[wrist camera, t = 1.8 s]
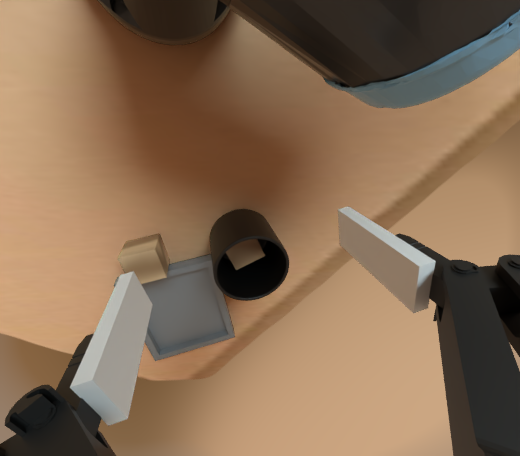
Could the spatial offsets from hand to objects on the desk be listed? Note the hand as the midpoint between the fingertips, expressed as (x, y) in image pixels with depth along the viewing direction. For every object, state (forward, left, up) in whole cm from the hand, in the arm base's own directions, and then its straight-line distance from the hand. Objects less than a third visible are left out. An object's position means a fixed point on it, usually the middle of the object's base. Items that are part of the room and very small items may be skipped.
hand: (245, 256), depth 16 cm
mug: (+11, +2, -20) cm, 23 cm away
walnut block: (+9, +1, -20) cm, 22 cm away
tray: (+20, -11, -20) cm, 30 cm away
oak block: (+8, -12, -20) cm, 25 cm away
